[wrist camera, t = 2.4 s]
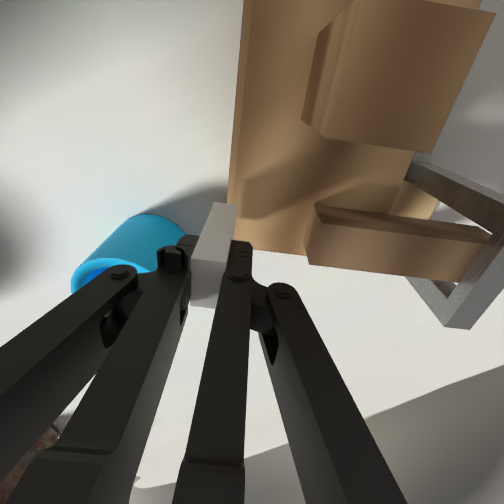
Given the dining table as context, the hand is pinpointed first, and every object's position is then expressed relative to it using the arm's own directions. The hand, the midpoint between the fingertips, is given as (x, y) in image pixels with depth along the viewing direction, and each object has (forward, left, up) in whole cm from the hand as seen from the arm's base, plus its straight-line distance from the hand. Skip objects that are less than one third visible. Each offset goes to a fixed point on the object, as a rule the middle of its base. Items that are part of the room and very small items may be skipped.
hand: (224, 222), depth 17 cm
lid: (+6, +6, -3) cm, 9 cm away
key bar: (+12, 0, -2) cm, 12 cm away
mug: (-9, -10, -9) cm, 16 cm away
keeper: (+16, 0, -9) cm, 19 cm away
